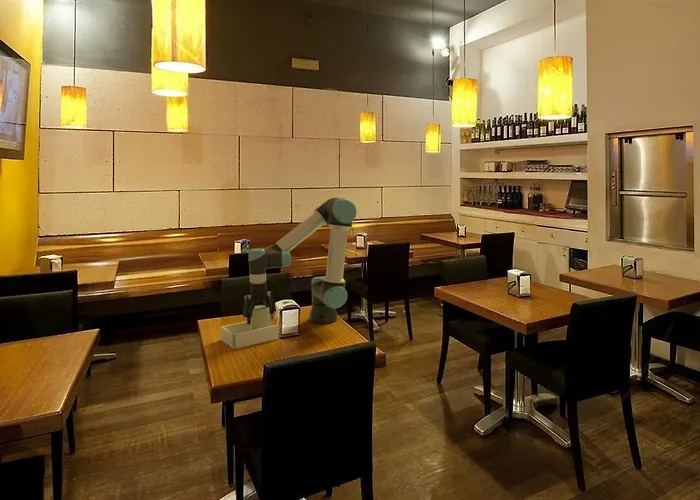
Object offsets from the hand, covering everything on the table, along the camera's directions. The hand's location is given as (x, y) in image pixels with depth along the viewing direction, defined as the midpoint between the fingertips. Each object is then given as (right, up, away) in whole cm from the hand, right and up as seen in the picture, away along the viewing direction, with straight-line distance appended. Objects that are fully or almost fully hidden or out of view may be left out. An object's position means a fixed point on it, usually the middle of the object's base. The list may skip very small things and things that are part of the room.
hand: (260, 328), depth 220 cm
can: (0, -2, 0) cm, 2 cm away
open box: (-4, -5, -2) cm, 6 cm away
